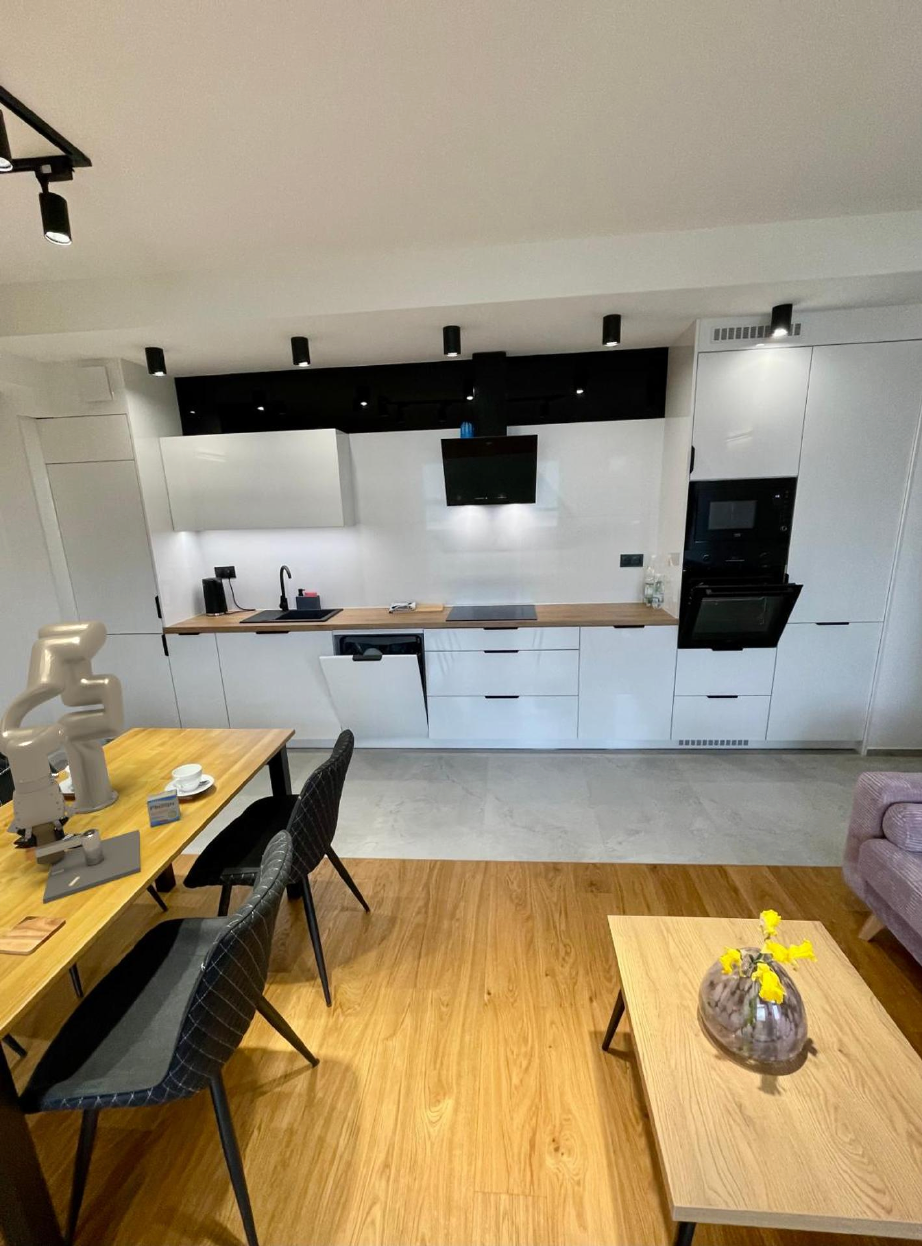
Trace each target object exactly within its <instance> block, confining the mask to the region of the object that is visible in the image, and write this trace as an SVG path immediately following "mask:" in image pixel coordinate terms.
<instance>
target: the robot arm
mask: <svg viewBox="0 0 922 1246" xmlns="http://www.w3.org/2000/svg"><path fill="white" fill-rule="evenodd" d="M107 637H108V632H107V628H106V625H105V624H104V623H103V622H101V621H99V620H96V619H93V620H92V619H91V620H80V621H79V620H78V621H62V622H55V623H49V624H48V623H47V624H45V625H43V626H41V627H39V629H38V631H37V638H38V639H37V640H36V641H34V643H33V644H32V646H31V652H30V659H29V668H28V676H27V683H26V687H25V690H24V691H22V693H21V694H19V695H18V696H17V697H16V698H15V699H14V700H13V701H12V703H11V704H10V705H9V706H8V708H6V710H5V712H4V713H3V714H2V715H3V716H2V717H1V719H0V753H1V754H2V755H3V756H5V757H7V762H8V764H9V768H10V769H9V770H10V773H11V776H12V781H13V785H14V790H13V792H12V807H13V810H12V811H13V816H14V818H13V819H12V821H11V822H10V824H9V826H8V828H7V830H6V832H7V833H9V834H16V835H18V836H21V837H23V838H25V839H26V840H27V843H28V848H31V847H35V848H36V847H37V846H36V836H35V835H34V834H33V833H32V827H34V826H37V825H41V824H45V823H49V822H53V823H54V825H55V826H56V828H55V833H56V838H57V841H60V840H64V839H66V836H65V831H64V827H65V825H66V824H67V823H68V821H70V819H71V818H73V817H74V816H75V815H76V814H88V813H93V812H97V811H100V810H102V809H105V808H107V807H109V806H110V805H112V804H113V803H114V802H116V801H117V799H118V798H119V793H118V791H116V790H113V789H112V788H111V781H110V776H109V772H108V766H107V762H106V761H107V760H106V756H105V750H104V748H103V747H102V745H101V744H100V743H99V742H98V741H97V740H100V739H109V738H113V737H118V736H120V735H121V734H122V733H123V732H124V730H125V711H124V702H123V701H124V700H123V690H122V689H123V688H122V684H121V681H120V680H119V677H118V676H116V675H114V674H112V673H103V674H102V673H100V674H93V668H92V660H93V659H94V658H95V656H96V655H98V652H99V651H100V650H101V649H102V648H103V646H104V645H105V643H106V641H107ZM58 696H60V699H61V703H62V704H63V705H64V706H65V707H69V708H79V707H88V706H95V705H102V706H103V708H94V709H85V710H78V711H77V710H76V711H72V712H68V713H66V714H64V715H62V716H61V717H59V719H58V721H57V723H47V724H39V725H31V726H30V725H29V726H24V727H23V726H22V727H21V725H22V722H23V719H24V718H25V717H26V716H27V715H28V713H30V711H32V710H33V709H35V708H37V707H38V706H41V704H44V703H46V702H47V701H50V700H51V699H55V697H58ZM62 748H63V749H64V752H65V755H66V759H67V764H68V770H69V774H70V779H71V784H72V787H73V792H74V793H73V794H74V799H75V800H74V801H73V802H72V804H71V805H69V804H67V803H66V800H65V797H64V793H63V791H62V788H61V786H60V784H59V782H58V780H57V779H58V778H60V774H59V772H52V770H51V767H50V761H49V756H50V755H52V754H54V753H56V752H58V751H59V750H61V749H62ZM65 812H66V813H67V814H66V813H65Z"/></svg>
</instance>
